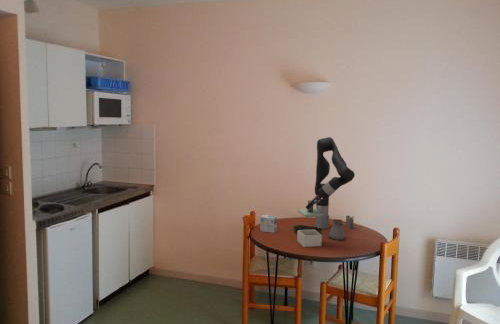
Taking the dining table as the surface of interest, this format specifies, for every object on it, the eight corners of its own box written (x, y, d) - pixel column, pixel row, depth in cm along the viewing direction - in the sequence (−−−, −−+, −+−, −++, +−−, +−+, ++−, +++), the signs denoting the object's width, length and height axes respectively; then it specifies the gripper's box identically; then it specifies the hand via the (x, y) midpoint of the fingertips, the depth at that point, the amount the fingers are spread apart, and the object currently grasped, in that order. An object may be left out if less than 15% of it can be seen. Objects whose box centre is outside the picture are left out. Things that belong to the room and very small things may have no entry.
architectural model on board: (353, 229, 294) (354, 216, 293) (349, 229, 294) (350, 216, 293) (349, 225, 306) (350, 213, 304) (345, 225, 306) (346, 213, 304)
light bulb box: (276, 230, 287) (277, 216, 286) (274, 233, 281) (274, 218, 280) (262, 228, 291) (263, 214, 290) (259, 231, 285) (260, 216, 283)
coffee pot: (327, 236, 276) (327, 215, 274) (343, 236, 275) (344, 215, 274) (332, 246, 254) (333, 223, 253) (350, 246, 254) (351, 224, 252)
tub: (314, 241, 264) (314, 229, 263) (321, 246, 253) (321, 234, 252) (297, 242, 262) (297, 230, 261) (303, 248, 250) (303, 235, 249)
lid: (315, 212, 263) (316, 198, 261) (323, 217, 250) (324, 202, 249) (297, 212, 260) (297, 199, 259) (304, 218, 247) (304, 203, 246)
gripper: (325, 184, 256) (306, 200, 262) (320, 188, 243) (300, 205, 249) (333, 193, 255) (313, 209, 261) (328, 197, 242) (308, 214, 248)
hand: (307, 207), depth 255 cm, fingers closed on lid, 3 cm apart
